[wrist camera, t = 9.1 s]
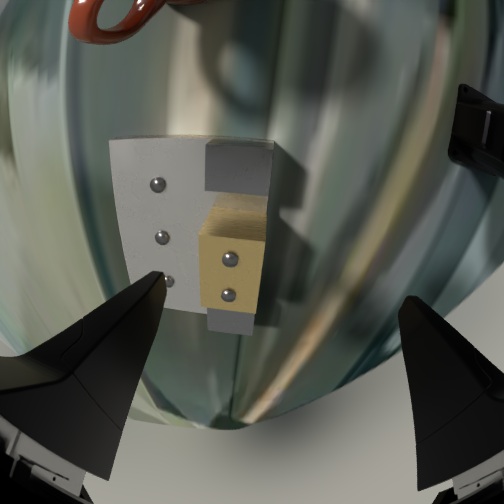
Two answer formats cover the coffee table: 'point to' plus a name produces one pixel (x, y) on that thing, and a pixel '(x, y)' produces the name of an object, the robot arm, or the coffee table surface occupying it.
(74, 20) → the mug
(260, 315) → the coffee table surface
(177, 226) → the steel hinge plate
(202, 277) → the block
